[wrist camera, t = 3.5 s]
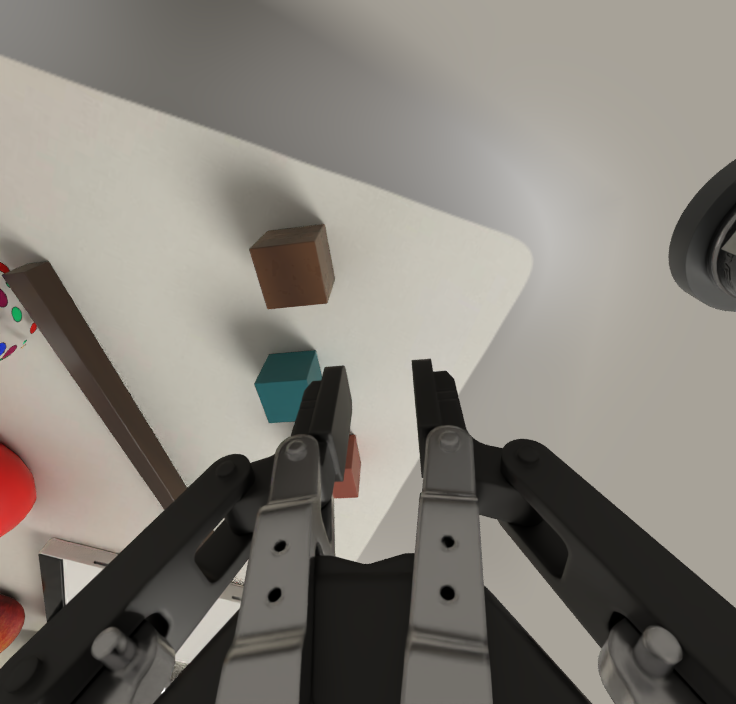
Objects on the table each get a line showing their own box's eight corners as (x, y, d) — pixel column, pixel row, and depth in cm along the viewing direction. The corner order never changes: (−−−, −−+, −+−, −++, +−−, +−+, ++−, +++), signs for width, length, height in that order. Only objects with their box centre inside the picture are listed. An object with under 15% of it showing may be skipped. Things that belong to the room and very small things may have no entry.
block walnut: (324, 223, 28) (314, 241, 24) (335, 279, 30) (327, 303, 26) (267, 230, 28) (248, 248, 25) (282, 285, 31) (267, 309, 27)
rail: (48, 261, 30) (23, 271, 28) (227, 553, 54) (220, 571, 52) (27, 263, 31) (0, 274, 29) (213, 553, 54) (206, 571, 52)
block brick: (355, 434, 40) (351, 468, 36) (361, 463, 42) (358, 497, 38) (314, 436, 40) (306, 470, 36) (322, 464, 43) (315, 499, 39)
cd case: (48, 635, 68) (37, 554, 52) (58, 620, 70) (51, 537, 54) (235, 674, 74) (278, 612, 58) (239, 659, 76) (282, 595, 60)
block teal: (315, 349, 34) (306, 379, 30) (325, 388, 36) (317, 420, 33) (268, 353, 34) (253, 383, 31) (281, 391, 37) (268, 423, 33)
